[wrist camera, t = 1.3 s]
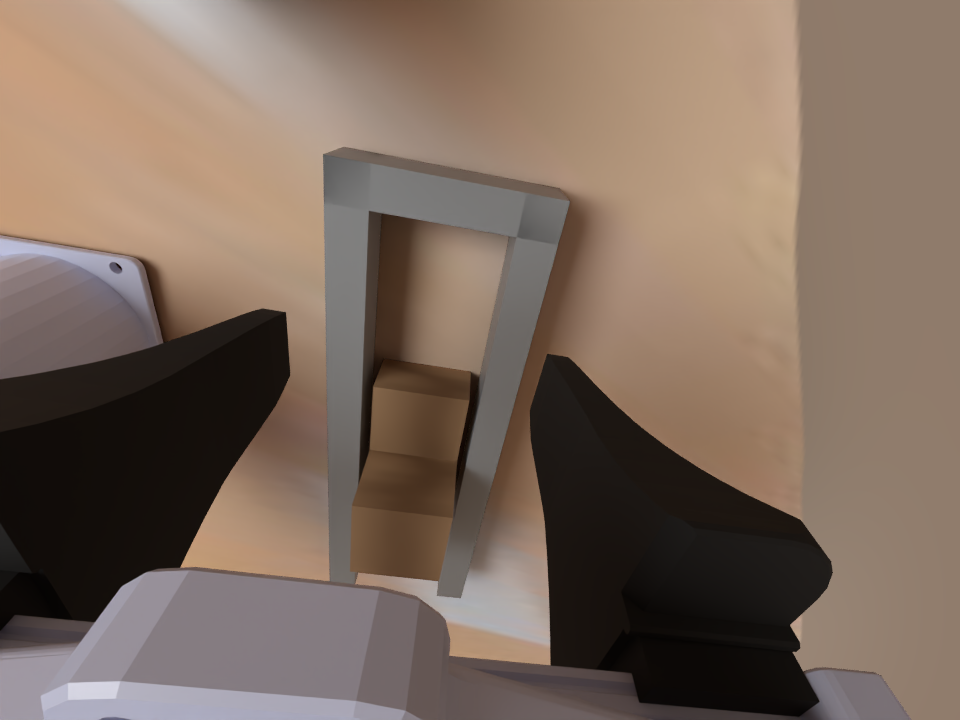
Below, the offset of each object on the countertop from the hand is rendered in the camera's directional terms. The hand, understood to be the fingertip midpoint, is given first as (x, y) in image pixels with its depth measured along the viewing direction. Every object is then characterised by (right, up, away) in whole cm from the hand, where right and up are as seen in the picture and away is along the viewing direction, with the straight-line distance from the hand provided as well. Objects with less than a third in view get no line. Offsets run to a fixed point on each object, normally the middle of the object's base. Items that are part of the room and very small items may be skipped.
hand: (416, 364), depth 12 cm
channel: (-2, -4, +12) cm, 13 cm away
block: (-2, -4, +12) cm, 13 cm away
